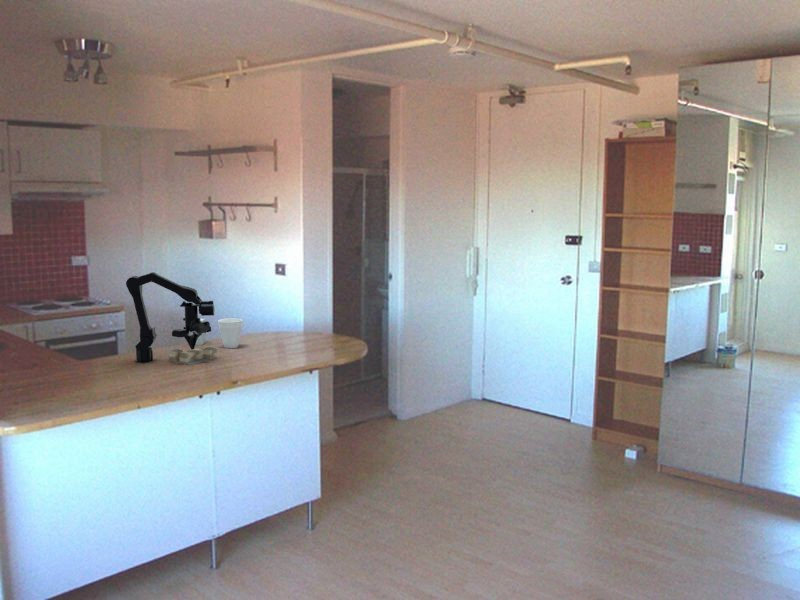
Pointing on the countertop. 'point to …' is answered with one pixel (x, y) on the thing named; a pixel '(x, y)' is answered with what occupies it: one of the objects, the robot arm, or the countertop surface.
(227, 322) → the cup
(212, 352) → the number block
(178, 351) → the number block
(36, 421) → the countertop surface
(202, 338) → the supplement box
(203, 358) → the mat
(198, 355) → the plain bar
